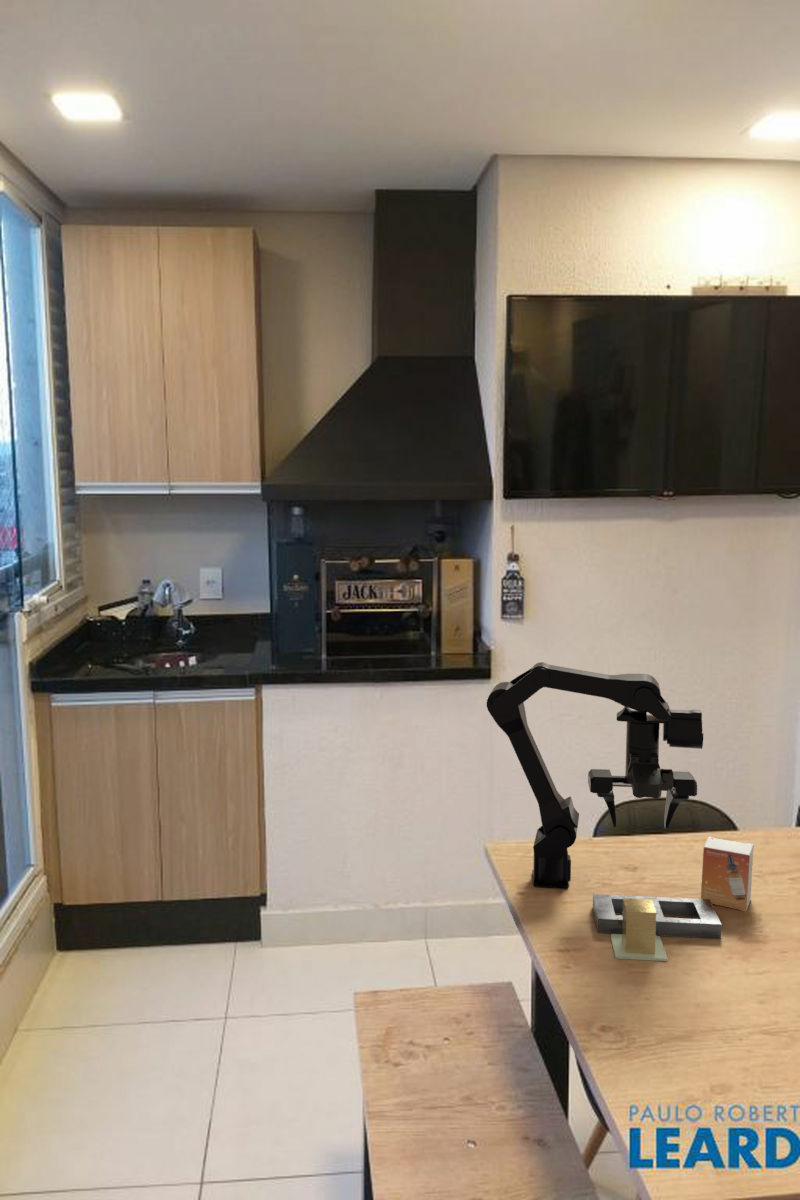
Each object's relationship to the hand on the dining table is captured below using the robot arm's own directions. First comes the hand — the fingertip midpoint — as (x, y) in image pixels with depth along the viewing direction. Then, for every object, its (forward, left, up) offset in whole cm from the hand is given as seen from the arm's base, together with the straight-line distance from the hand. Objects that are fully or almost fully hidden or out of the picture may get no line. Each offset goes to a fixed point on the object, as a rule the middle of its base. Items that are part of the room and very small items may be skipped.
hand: (640, 827), depth 165 cm
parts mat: (-3, -21, -12) cm, 25 cm away
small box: (+15, -3, -12) cm, 20 cm away
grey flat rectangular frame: (+1, -12, -12) cm, 17 cm away
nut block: (-3, -21, -12) cm, 25 cm away
